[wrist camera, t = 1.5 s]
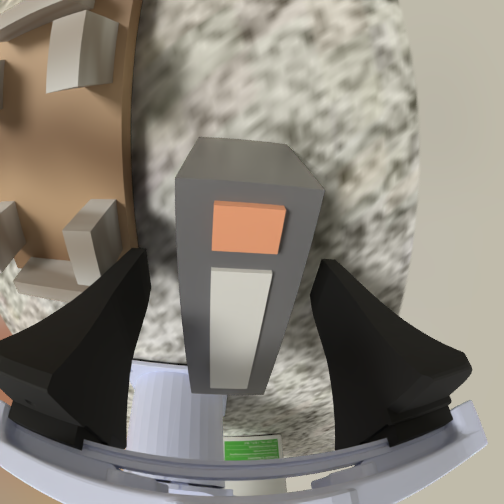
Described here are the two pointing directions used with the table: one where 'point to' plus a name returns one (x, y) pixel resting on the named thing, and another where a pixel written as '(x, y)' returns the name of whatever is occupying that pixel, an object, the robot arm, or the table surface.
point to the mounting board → (66, 142)
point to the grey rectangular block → (240, 257)
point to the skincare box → (254, 451)
